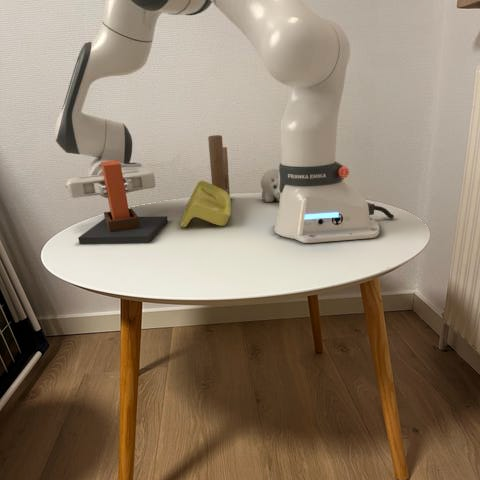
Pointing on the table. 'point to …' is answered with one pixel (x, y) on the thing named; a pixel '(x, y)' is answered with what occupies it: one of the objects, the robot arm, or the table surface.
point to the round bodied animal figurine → (270, 185)
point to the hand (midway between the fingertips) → (115, 188)
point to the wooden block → (218, 163)
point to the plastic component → (208, 205)
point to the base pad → (124, 229)
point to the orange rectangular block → (115, 189)
